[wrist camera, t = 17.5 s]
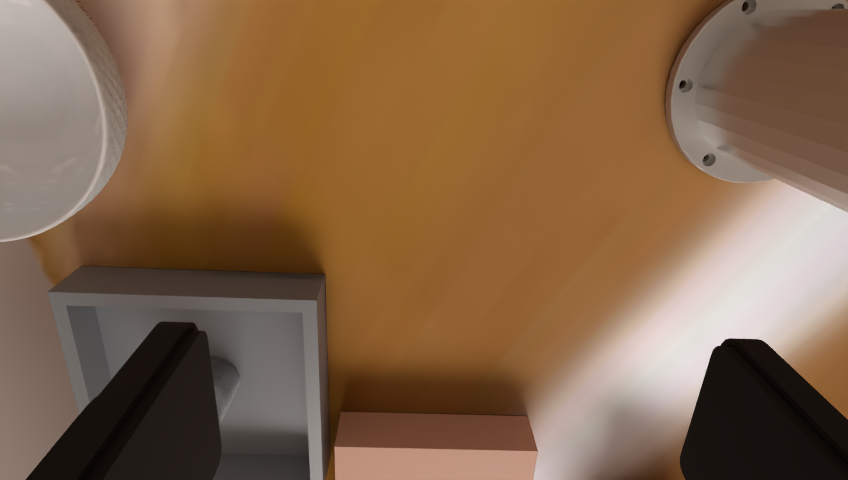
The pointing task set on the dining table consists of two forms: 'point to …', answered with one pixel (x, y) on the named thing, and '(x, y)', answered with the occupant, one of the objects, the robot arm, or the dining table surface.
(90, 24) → the cereal bowl
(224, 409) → the pin
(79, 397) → the tray
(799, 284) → the dining table surface
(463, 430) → the hitch block
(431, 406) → the dining table surface
